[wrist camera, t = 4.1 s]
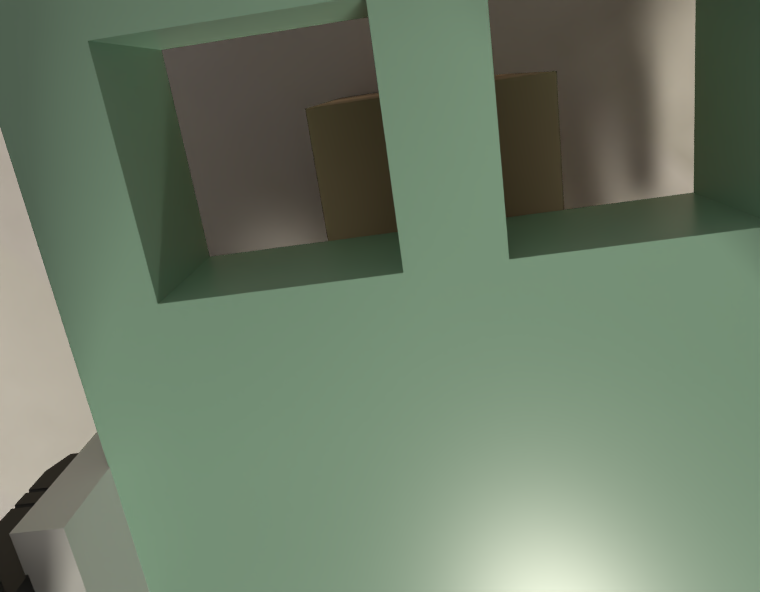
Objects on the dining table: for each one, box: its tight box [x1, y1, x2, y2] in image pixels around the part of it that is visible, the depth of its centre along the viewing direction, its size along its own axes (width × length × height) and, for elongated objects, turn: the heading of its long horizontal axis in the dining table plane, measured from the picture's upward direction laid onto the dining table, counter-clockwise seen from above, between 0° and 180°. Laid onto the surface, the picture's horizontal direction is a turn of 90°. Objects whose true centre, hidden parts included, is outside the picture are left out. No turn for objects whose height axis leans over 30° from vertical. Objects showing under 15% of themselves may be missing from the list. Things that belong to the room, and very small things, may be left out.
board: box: [0, 0, 760, 592], centre depth 11 cm, size 11×16×2 cm
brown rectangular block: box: [305, 71, 564, 241], centre depth 15 cm, size 4×12×6 cm, turn 8°
